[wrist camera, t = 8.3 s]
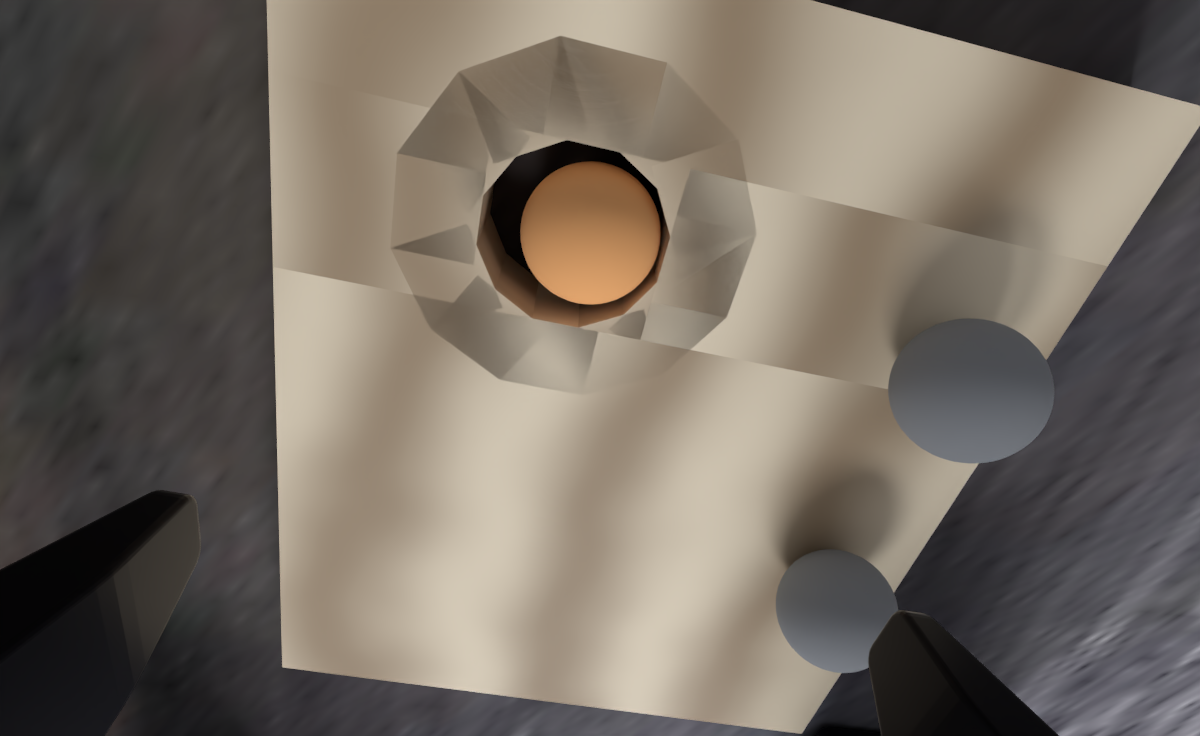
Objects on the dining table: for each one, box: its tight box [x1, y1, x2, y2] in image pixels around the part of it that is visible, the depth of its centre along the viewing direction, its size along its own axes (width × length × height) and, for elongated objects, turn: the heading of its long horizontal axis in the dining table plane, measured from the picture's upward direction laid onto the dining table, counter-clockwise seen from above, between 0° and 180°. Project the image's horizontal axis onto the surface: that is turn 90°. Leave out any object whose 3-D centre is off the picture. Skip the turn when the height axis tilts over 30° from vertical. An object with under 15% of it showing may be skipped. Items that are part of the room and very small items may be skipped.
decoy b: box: [888, 318, 1054, 463], centre depth 16 cm, size 4×4×4 cm
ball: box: [520, 161, 661, 304], centre depth 16 cm, size 4×4×4 cm
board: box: [267, 0, 1200, 734], centre depth 20 cm, size 20×24×2 cm
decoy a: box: [776, 549, 899, 673], centre depth 20 cm, size 4×4×4 cm
